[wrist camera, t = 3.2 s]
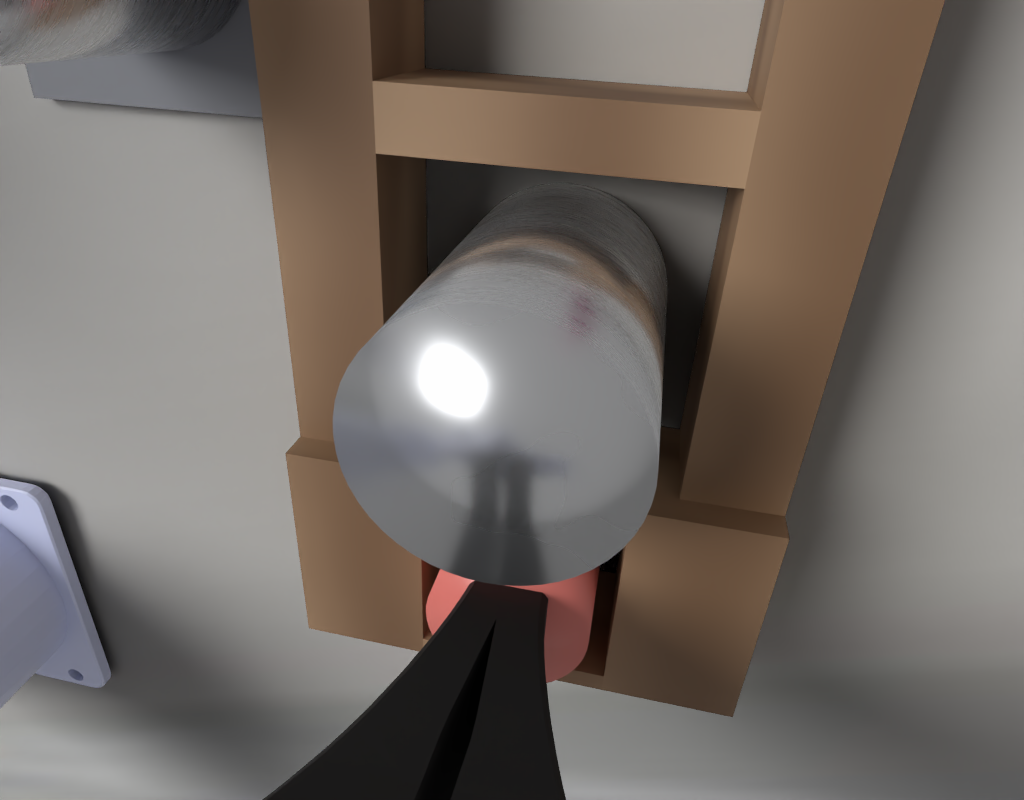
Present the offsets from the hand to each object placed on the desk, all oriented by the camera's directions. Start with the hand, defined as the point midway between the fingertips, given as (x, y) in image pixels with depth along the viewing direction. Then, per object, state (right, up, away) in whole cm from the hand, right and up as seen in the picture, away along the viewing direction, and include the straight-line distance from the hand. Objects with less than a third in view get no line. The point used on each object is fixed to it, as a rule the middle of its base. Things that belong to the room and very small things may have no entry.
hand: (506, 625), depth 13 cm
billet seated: (+1, +6, +1) cm, 6 cm away
